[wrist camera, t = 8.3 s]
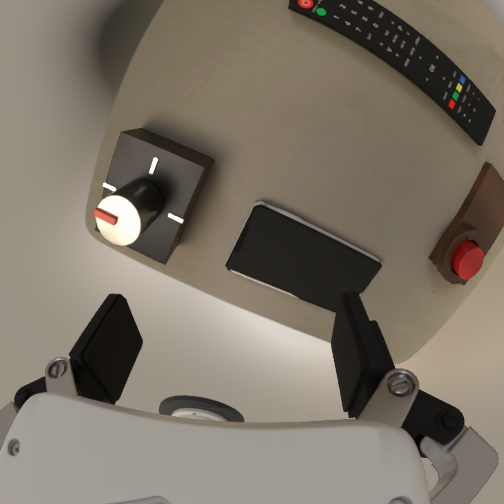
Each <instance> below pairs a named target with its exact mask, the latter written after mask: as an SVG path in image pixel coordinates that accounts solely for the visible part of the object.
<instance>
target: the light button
mask: <svg viewBox="0 0 504 504" xmlns="http://www.w3.org/2000/svg"><path fill="white" fill-rule="evenodd" d="M483 258H484V256H483V252H482V250H481V249H480V248H479V247H478V246H476V245H475V244H474V243H473V242H471V241H466V242H463V243H462V244H461V245H459V246H458V248H457V249H456V251H455V252H454V254H453V257H452V261H451V264H452V268H453V269H454V271H455V272H456V273H457V274H458V275H459V276H460V277H461V278H462V279H465V280H466V279H470V278H472V277H473V276H475V275H476V274H477V272H478V271H479V270H480V268H481V266H482V263H483Z"/></svg>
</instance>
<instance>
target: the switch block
mask: <svg viewBox="0 0 504 504" xmlns="http://www.w3.org/2000/svg"><path fill="white" fill-rule="evenodd" d="M503 226H504V181H503V179H502V178H501V176H500V175H499V174H498V172H497V171H496V170H495V168H494V167H493V166H492V164H489V163H487V162H485V164H484V166H483V168H482V170H481V172H480V174H479V176H478V178H477V180H476V182H475V184H474V185H473V187H472V189H471V191H470V193H469V195H468V196H467V198H466V200H465V202H464V203H463V205H462V207H461V208H460V210H459V212H458V213H457V215H456V217H455V218H454V220H453V222H452V223H451V225H450V226H449V228H448V229H447V231H446V233H445V234H444V236H443V237H442V239H441V240H440V242H439V243H438V244H437V246H436V247H435V249H434V250H433V252H432V253H431V255H430V256H429V259H430V260H431V261H432V262H433V263H434V264H436V265H437V269H438V271H439V273H440V274H441V275H442V276H443V277H444V279H446V280H447V281H448V282H450V283H451V284H458V283H461V284H462V285H465V284H466V282H467V281H468V280H469V279H466V280H465V279H462V278H461V277H460V276H459V275H458V274H457V273H456V272H455V271H454V269H453V268H452V264H451V261H452V257H453V254H454V252H455V251H456V249H457V248H458V246H459V245H461V244H462V243H463V242H466V241H471V242H473V243H474V244H475V245H476V246H478V247H479V248H480V249H481V250H482V252H483V256H484V257H485V255H486V254H487V252H488V251H489V249H490V248H491V246H492V245H493V243H494V241H495V240H496V238H497V236H498V235H499V233H500V231H501V230H502V228H503Z"/></svg>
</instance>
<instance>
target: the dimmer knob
mask: <svg viewBox="0 0 504 504" xmlns="http://www.w3.org/2000/svg"><path fill="white" fill-rule="evenodd" d="M161 210H162V197H161V194H160V192H159V190H158V189H157V188H156V186H154V185H153V184H152V183H151V182H149V181H146V180H142V179H137V180H133V181H131V182H129V183H128V184H126V185H124V186H123V187H121V188H119V189H118V190H116V191H114V192H113V193H111V194H110V195H108V196H106V197H105V198H103V199H102V200H101V201H100V203H99V204H98V206H97V208H96V209H95V211H94V216H95V217H96V223H97V226H98V229H99V231H100V232H101V234H102V235H103V236H104V238H105V239H107V240H108V241H109V242H111V243H113V244H115V245H118V246H127V245H130V244H132V243H134V242H135V241H136V240H137V239H138V238H139V237H140V236H141V235H142V234H143V233H144V231H145V230H146V229H147V228H148V227H149V226H150V225H151V224H152V223H153V222H154V221H155V220H156V219H157V218H158V216H159V215H160V213H161Z"/></svg>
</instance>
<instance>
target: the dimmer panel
mask: <svg viewBox="0 0 504 504" xmlns="http://www.w3.org/2000/svg"><path fill="white" fill-rule="evenodd" d="M213 162H214V159H213V158H210V157H208V156H206V155H204V154H202V153H199V152H197V151H195V150H193V149H190V148H188V147H186V146H183V145H181V144H179V143H176V142H174V141H172V140H169V139H167V138H164V137H162V136H160V135H157V134H155V133H152V132H150V131H147V130H145V129H142V128H138V129H133V130H127V131H122V132H121V134H120V137H119V140H118V143H117V146H116V149H115V152H114V155H113V159H112V162H111V165H110V169H109V172H108V176H107V180H106V182H104V184H103V186H104V187H105V188H104V192H103V196H102V199H103V198H105V197H106V196H108V195H110V194H111V193H113V192H114V191H116V190H118V189H119V188H121V187H123V186H124V185H126V184H128V183H129V182H131V181H133V180H137V179H142V180H146V181H149V182H151V183H152V184H153V185H154V186H156V188H157V189H158V190H159V192H160V194H161V197H162V210H161V213H160V215H159V216H158V218H157V219H156V220H155V221H154V222H153V223H152V224H151V225H150V226H149V227H148V228H147V229H146V230H145V231H144V233H143V234H142V235H141V236H140V237H139V238H138V239H137V240H136V241H135V242H134V243H132V244H130V245H127V247H129V248H131V249H133V250H135V251H137V252H139V253H141V254H143V255H145V256H147V257H150V258H152V259H154V260H156V261H158V262H160V263H162V264H164V265H165V264H166V263H167V261H168V260H169V258H170V256H171V255H172V253H173V251H174V250H175V248H176V247H177V245H178V242H179V240H180V237H181V235H182V232H183V230H184V227H185V225H186V223H187V220H188V218H189V215H190V213H191V211H192V208H193V206H194V204H195V201H196V199H197V197H198V195H199V192H200V190H201V188H202V186H203V183H204V181H205V179H206V177H207V175H208V172H209V170H210V168H211V166H212V164H213ZM95 230H96V231H98V232H100V231H99V229H98V226H97V223H96V229H95ZM100 233H101V232H100Z"/></svg>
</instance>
